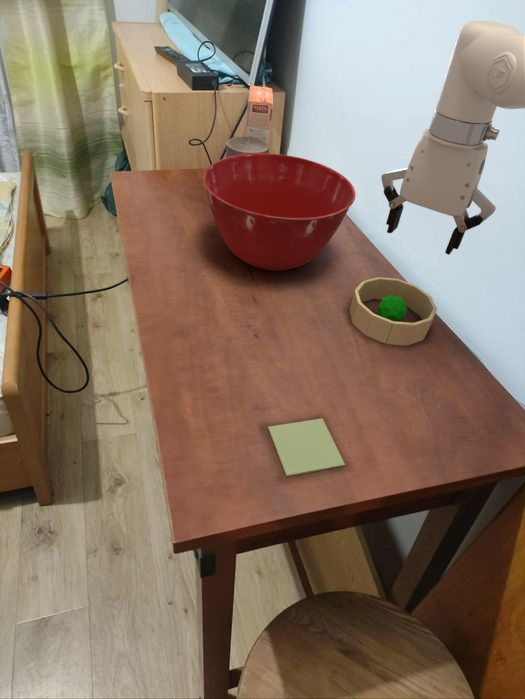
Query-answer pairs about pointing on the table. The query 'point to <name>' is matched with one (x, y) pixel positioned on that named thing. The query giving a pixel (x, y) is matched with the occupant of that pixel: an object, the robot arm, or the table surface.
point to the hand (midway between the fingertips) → (420, 240)
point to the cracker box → (259, 113)
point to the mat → (305, 447)
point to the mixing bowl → (276, 207)
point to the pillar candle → (245, 146)
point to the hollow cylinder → (384, 327)
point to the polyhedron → (392, 308)
